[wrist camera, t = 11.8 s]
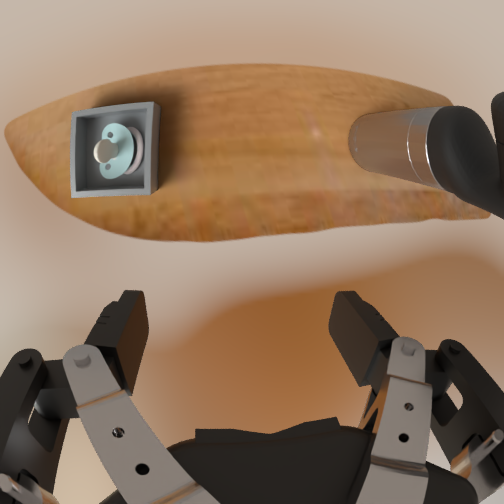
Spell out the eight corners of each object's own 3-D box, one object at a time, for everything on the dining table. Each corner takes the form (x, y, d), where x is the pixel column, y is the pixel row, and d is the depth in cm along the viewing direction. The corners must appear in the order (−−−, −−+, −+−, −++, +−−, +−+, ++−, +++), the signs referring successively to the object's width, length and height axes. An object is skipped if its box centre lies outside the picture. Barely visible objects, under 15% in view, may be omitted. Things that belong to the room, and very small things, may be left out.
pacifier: (147, 124, 31) (106, 125, 30) (135, 119, 25) (88, 121, 24) (142, 177, 34) (102, 176, 33) (130, 183, 28) (84, 182, 27)
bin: (161, 106, 31) (153, 101, 27) (158, 189, 35) (150, 194, 31) (86, 114, 30) (72, 112, 26) (85, 192, 34) (71, 197, 30)
